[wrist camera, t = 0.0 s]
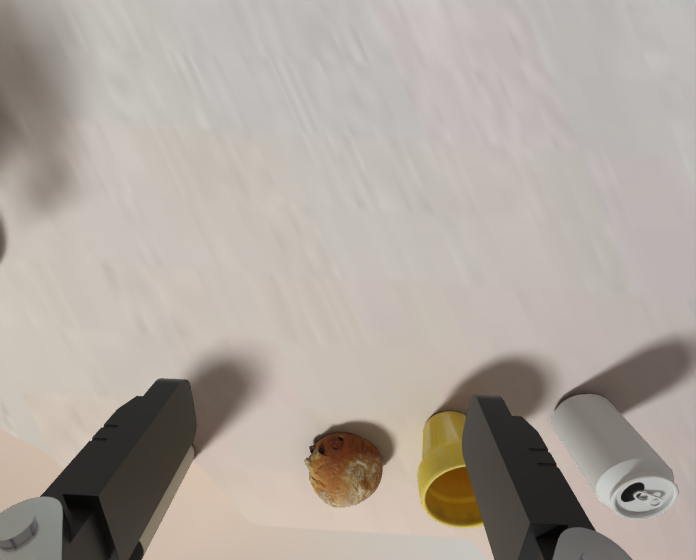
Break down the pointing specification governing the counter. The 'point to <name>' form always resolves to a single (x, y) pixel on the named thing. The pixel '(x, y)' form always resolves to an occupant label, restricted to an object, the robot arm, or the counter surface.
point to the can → (614, 458)
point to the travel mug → (162, 507)
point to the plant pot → (446, 473)
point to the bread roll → (344, 469)
